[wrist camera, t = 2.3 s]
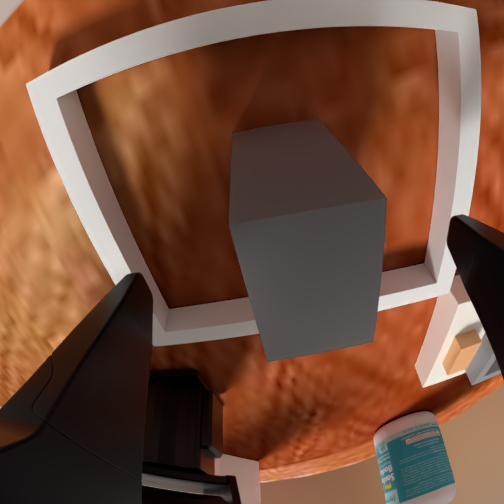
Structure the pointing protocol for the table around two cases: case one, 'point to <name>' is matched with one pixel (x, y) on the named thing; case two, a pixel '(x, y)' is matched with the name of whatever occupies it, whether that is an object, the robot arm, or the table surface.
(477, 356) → the power strip
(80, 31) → the table surface
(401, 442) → the pill bottle
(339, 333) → the plug
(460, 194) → the white square frame
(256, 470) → the milk
